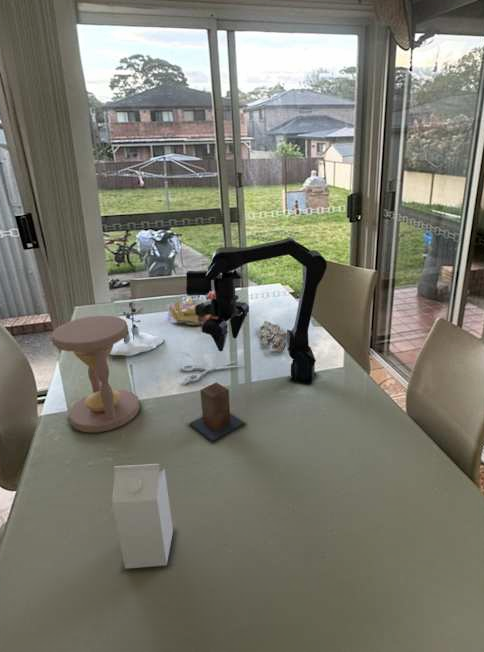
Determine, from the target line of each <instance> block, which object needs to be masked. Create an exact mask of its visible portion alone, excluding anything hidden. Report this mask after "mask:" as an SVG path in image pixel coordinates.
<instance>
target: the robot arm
mask: <svg viewBox="0 0 484 652" xmlns="http://www.w3.org/2000/svg"><path fill="white" fill-rule="evenodd" d="M284 256H290V257H291V258H292V259H294V260H295V261H297V262H298V263H300V264H301V265H302V266H301V267H302V285H301V291H300V295H299V300H298V306H297V311H296V316H295V321H294V325H293V327H292V328H291V329H286V333H287V337H286V339H285V349H286V351H287V352H288V355H289V357H290V358H291V359H292V361H291V364H290V382H294V383H298V384H299V383H300V384H306V385H311V384H312V383H313V381H314V380H315V378H316V376H317V373H316V372H315V371H316V361H317V360H316V357H315V355H314V353H313V350H312V347H311V346H310V345H309V328H310V323H311V319H312V314H313V308H314V305H315V299H316V295H317V290H318V286H319V284H320V283H321V281H322V280H323V279H324V276H325V273H326V270H327V269H328V268H327V267H328V262H327V260H326V259H325V257H324V256H323V255H322V254H321V252H319V251H318V250H314V249H311V250H310V249H309V248H307V247H306V246H304V245H303V244H301V243H299V242H297V241H296V240H295V239H294V238H292V237H286V238H283V239H280V240H275V241H269V242H265V243H261V244H255V245H251V246H245V247H237V246H221V247H218V248H216V249H215V250H214V251H213V253H212V259H211V262H210V263H209V265H207V268H206V270H187V271H186V274H185V275H186V285H185V290H186V291H185V293H186V295H187V296H196V295H199V296H201V295H203V296H207V295H208V294H209V293H210V292H213V291H215V297H214V298H212V299H210V301H207V302H204V303H201V304H197V305H196V306H195V313H196V314H197V316H200V317H203V316H206V315H210V314H211V316H213V317H216V316H217V317H218V318H219V319H212V318H210V319H208V320H207V321H206V322H204V323H203V324H200V327H201V328H200V329H201V332H202V334H205V335H209V336H211V338H212V339H213V341H214V344H215V346H216V348H217V351H219V352H223V351H224V348H225V345H226V340H227V337H228V333H229V330H228V328H229V327H228V326H229V325H228V324H229V323H230V327H231V328H230V329H231V335H232V338H233V339H237V338H238V336H239V334H240V331H241V329H242V326H243V324H244V322H245V320H246V318H247V316H248V313H250V306H249V305H248V303H247V302H243V301H238V300H239V295H236V281H235V280H241V279H242V273H241V272H239V271H238V270H237V269H239V268H240V267H242V266H244V265H247V264H250V263H255V262H260V261H265V260H270V259H274V258H279V257H284ZM212 281H213V282H212ZM187 296H186V297H187ZM228 322H229V323H228Z"/></svg>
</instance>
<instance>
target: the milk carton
mask: <svg viewBox="0 0 484 652" xmlns="http://www.w3.org/2000/svg"><path fill="white" fill-rule="evenodd" d="M113 469H114V478H113V487H112V497H111V505H112V508H113V514H114V519H115V525H116V530H117V534H118V539H119V545H120V550H121V555H122V560H123V565H124V569H140V568H152V567H165V566H167V565H168V560H169V554H170V549H171V545H172V538H173V535H174V534H173V533H174V529H173V528H174V527H173V520H172V513H171V508H170V507H171V506H170V499H169V491H168V485H167V483H168V482H167V477H166V470H165V468H160V464H159V463H146V464H132V465H131V464H130V465H115V466H114V467H113Z"/></svg>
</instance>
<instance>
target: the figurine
mask: <svg viewBox="0 0 484 652" xmlns="http://www.w3.org/2000/svg"><path fill="white" fill-rule="evenodd" d="M128 308H130V312H127V311H122V313H123V314H121V316H125V319H128V320H131V322H132V324H131V325H132V327H131V328H130V330H128V333H127V335H126V336H125V337H124V338H123V339H122V340H120V341H119V342H117V343H115V344H113V348H112V351H111V353H110V355H112V356H127V357H128V356H134V355H137V354H139V353H145V352H149V351H150V350H152V349H156V348H157V347H158V346H159V345H161V344H162V343H163V342H164V339H162V338H161V337H160V336H159V335H152V334H149V333H145V332H140V329H139V327H138V326H137V325H136V324H135V323H141V320H140V319H138V320H135V319H134V315H137V314H141V313H142V311H143V309H144V308H141V309H138V310H137V309H136V304H134V302H133V301H129V302H128ZM130 332H131V334H130Z"/></svg>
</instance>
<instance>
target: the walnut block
mask: <svg viewBox="0 0 484 652" xmlns="http://www.w3.org/2000/svg"><path fill="white" fill-rule="evenodd" d="M199 391H200V404H201V413H202V417H203V423H204V424H205V425H207V426H208V427H209V428H211V429H212V430H214V431H217V430H219V429H221V428H222V427H224V426H226V425H228V424H229V423H231V422H230V414H231V408H230V407H231V406H230V391H229V388H226V387H225V386H223V385H222V384H220V383H218V382H214V383H211V384H210V385H208V386H206V387H203V388H200V390H199Z"/></svg>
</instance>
